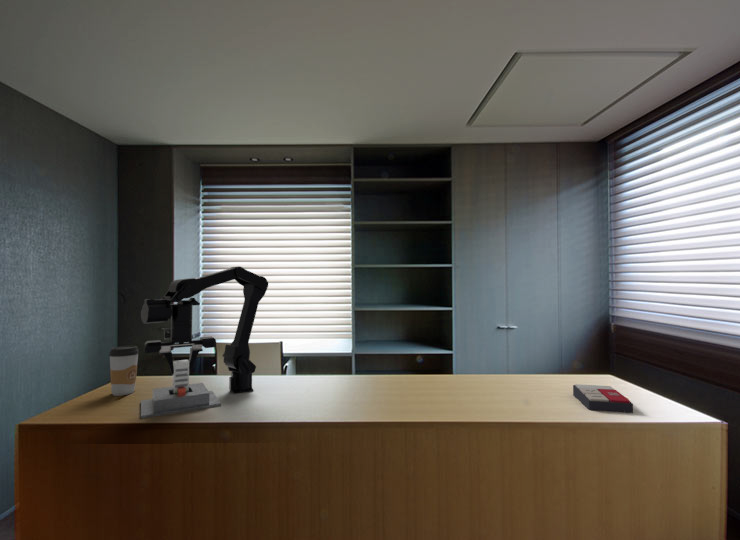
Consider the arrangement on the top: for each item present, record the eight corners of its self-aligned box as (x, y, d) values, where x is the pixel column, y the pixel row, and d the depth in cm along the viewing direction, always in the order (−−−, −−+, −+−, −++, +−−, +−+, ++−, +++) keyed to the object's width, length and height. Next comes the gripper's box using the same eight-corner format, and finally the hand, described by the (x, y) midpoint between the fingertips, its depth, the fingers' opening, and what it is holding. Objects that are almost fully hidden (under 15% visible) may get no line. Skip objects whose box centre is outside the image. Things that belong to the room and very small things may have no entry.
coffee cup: (123, 397, 118) (124, 349, 119) (101, 396, 120) (102, 349, 121) (144, 390, 126) (145, 345, 127) (123, 389, 128) (124, 345, 129)
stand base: (211, 393, 123) (212, 375, 123) (220, 406, 109) (221, 386, 109) (140, 403, 112) (141, 384, 112) (140, 418, 99) (141, 397, 99)
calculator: (588, 398, 104) (572, 382, 118) (589, 413, 104) (572, 395, 118) (633, 401, 101) (611, 384, 116) (633, 416, 101) (611, 397, 116)
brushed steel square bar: (187, 389, 114) (187, 359, 114) (188, 392, 110) (189, 362, 110) (172, 391, 111) (173, 360, 112) (173, 394, 108) (174, 363, 108)
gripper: (210, 317, 123) (210, 365, 123) (145, 320, 114) (144, 372, 113) (216, 320, 114) (215, 371, 113) (145, 323, 104) (144, 379, 104)
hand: (180, 373), depth 111 cm, fingers closed on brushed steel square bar, 4 cm apart
